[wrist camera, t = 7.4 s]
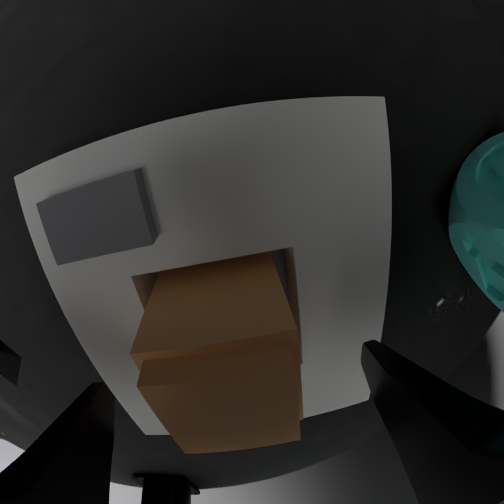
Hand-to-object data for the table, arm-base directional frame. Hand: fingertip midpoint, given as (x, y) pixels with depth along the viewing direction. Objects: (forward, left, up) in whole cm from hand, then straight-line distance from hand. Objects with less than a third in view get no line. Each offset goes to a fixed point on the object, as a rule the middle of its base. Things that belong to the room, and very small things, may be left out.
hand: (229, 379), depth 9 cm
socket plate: (0, 0, -6) cm, 6 cm away
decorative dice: (+2, -17, -6) cm, 18 cm away
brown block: (0, 0, -5) cm, 5 cm away
